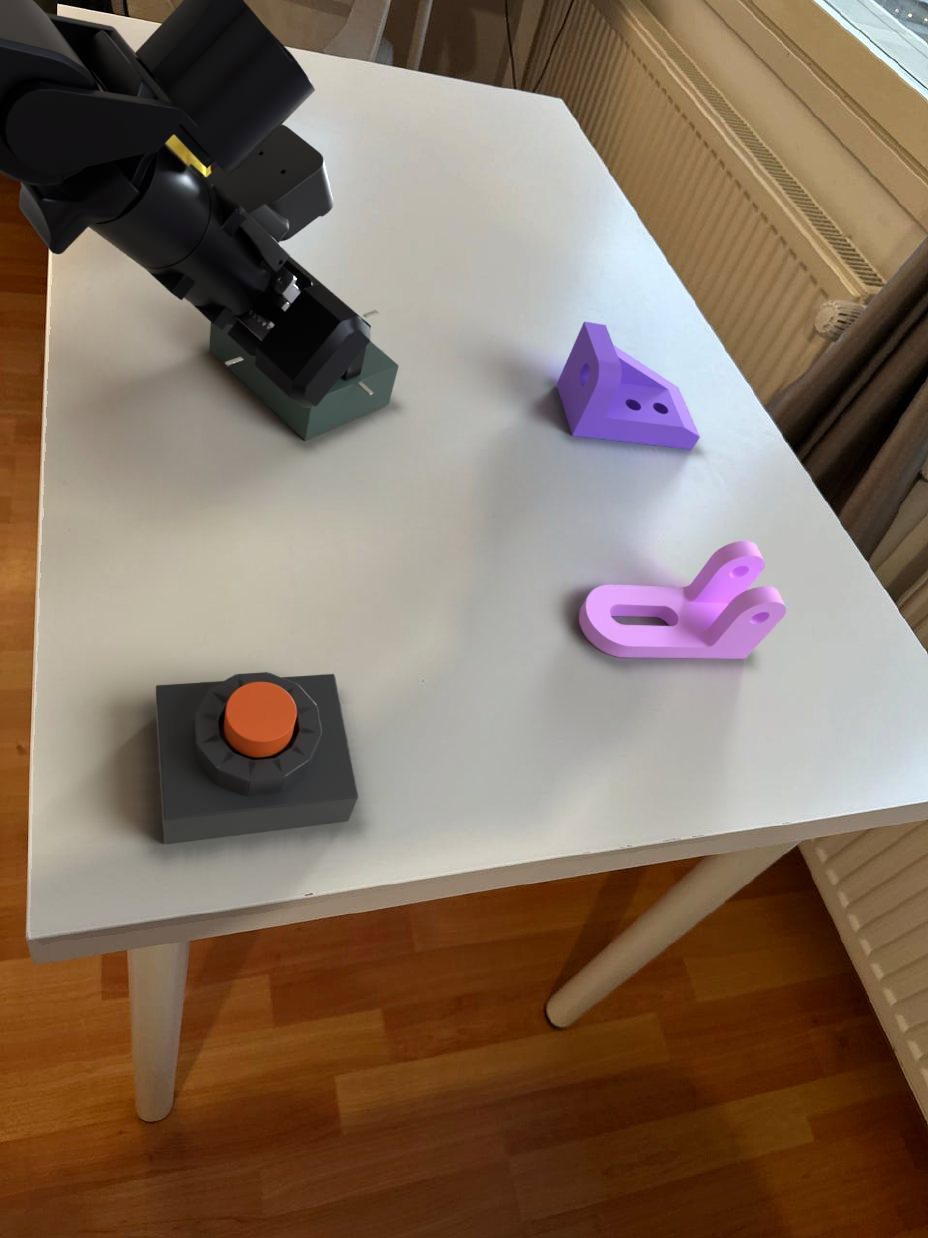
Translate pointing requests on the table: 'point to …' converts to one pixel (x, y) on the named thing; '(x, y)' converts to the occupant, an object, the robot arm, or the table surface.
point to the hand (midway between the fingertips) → (299, 333)
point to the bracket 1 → (621, 396)
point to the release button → (259, 719)
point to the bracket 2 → (689, 612)
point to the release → (250, 762)
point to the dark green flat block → (338, 403)
